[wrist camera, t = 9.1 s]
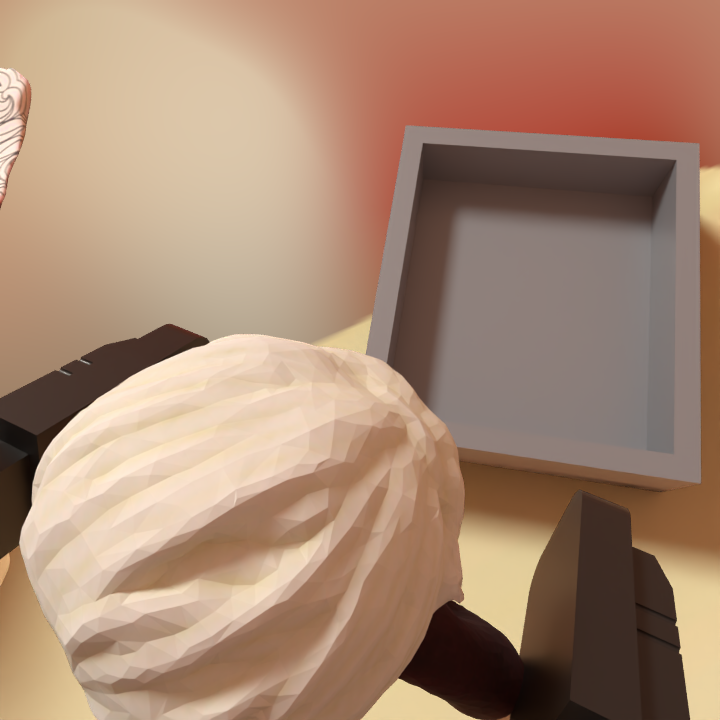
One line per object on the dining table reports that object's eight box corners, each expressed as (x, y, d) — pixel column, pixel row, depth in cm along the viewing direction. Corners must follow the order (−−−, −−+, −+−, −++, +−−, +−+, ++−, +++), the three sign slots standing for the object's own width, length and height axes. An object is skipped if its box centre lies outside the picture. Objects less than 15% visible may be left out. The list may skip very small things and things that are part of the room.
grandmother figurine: (220, 521, 16) (-402, 445, 4) (298, 410, 17) (-18, 64, 5) (455, 701, 14) (653, 1670, 2) (531, 565, 15) (1008, 647, 3)
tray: (665, 193, 30) (699, 143, 27) (660, 492, 26) (701, 483, 22) (408, 173, 33) (405, 125, 29) (362, 445, 28) (352, 431, 24)
